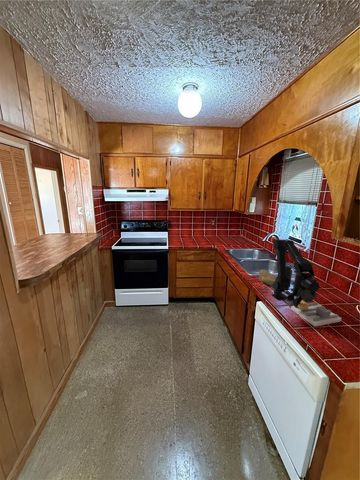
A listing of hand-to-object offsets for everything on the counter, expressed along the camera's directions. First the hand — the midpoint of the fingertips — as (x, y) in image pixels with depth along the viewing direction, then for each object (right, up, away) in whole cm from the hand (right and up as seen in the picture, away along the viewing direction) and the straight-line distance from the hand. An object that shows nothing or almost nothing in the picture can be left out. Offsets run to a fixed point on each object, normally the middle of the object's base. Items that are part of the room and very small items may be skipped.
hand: (295, 307), depth 113 cm
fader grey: (+12, -3, -5) cm, 13 cm away
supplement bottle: (+18, +7, +42) cm, 46 cm away
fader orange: (+4, -1, +1) cm, 5 cm away
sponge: (+1, +6, +40) cm, 40 cm away
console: (+11, -4, 0) cm, 12 cm away
